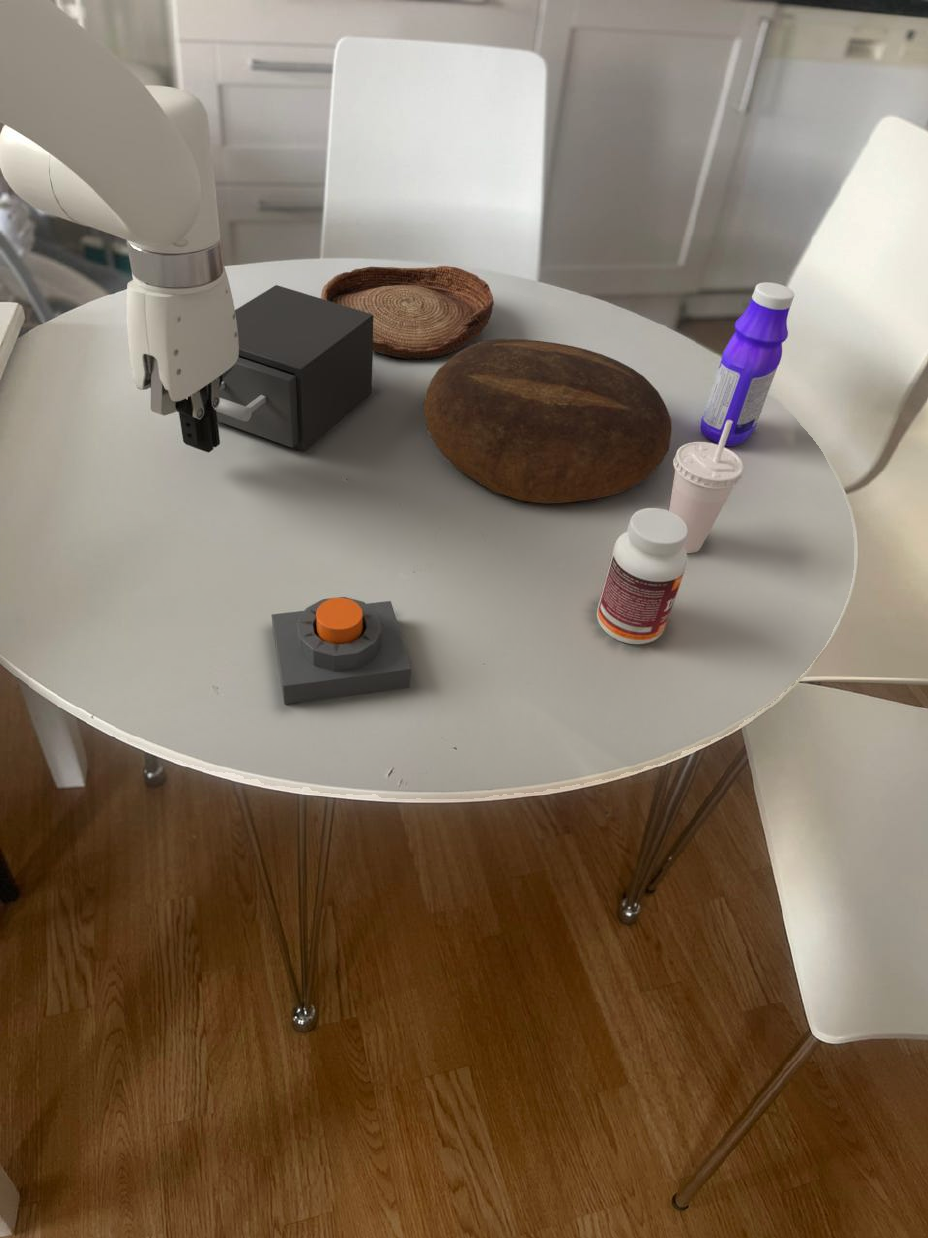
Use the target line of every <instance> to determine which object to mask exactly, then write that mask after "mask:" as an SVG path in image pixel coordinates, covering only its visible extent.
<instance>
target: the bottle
mask: <svg viewBox="0 0 928 1238" xmlns="http://www.w3.org/2000/svg"><path fill="white" fill-rule="evenodd" d="M794 297H795V292H794V291H793V290H792V289H791V288H790V287H788V286H785V285H784V284H780V283H776V282H767V281H765V282H759V283H758V284H756V286H755V288H754V290H753V293H752V295H751V299H750V302H749V304H748V306H747V308H746V310H745V311H744V313H743V314H741V315H740V317H738V318H737V320H736V321H735V323H734V330H735V332H734V333H733V335H732V336H731V338H730V339H729V341H728V342H727V344H726V346H725V348H724V350H723V353H722V355H721V361H720V363H719V366H718V368H717V373H716V375H715V379H714V382H713V385H712V388H711V391H710V393H709V397H708V400H707V403H706V406H705V409H704V412H703V415H702V416H701V420H700V433H701V434H702V436H704V437H705V438H707V439H708V440H710V441H712V442H713V443H715V444H717V445H719V442H720V439H721V436H722V433H723V430H724V427H725V424H726V421H727V420H731V421H732V422H733V423H732V426H731V429H730V432H729V435H728V437H727V440H726V443H725V446H724V447H735V446H737V445H740V444H742V443H744V442H745V441H747V439H749V438H750V437H751V436H752V434H753V433H754V431H755V429H756V427H757V425H758V421H759V419H760V416H761V413H762V412H763V411H762V410H763V408H764V405H765V401H766V399H767V397H768V394H769V391H770V389H771V386H772V383H773V380H774V378H775V375H776V373H777V370H778V367H779V365H780V363H781V360H782V356H783V343H784V342H785V341H786V340H787V339H788V337H789V331H788V316H789V312H790V309H791V307H792V303H793V300H794Z"/></svg>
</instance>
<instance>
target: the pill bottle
mask: <svg viewBox="0 0 928 1238" xmlns="http://www.w3.org/2000/svg"><path fill="white" fill-rule="evenodd" d="M687 533H688V528H687V525H686V524H685V522H684V521H683V520H682V519H681V518H680V517H679V516H677V515H676V514H674V513H672V512H670V511H669V510H667V509H663V508H658V507H647V508H641V509H639V510H637V511H636V512H634V513H633V514H632V516H631V517H630V521H629V523H628V526H627V531H624V532H622V534H621V535H619V537H618V538H617V540H616V541H615V543H614V546H613V549H612V553H611V557H610V560H609V561H610V562H609V564H608V568H607V572H606V575H605V579H604V583H603V586H602V589H601V594H600V597H599V601H598V604H597V610H596V618H597V621H598V624H599V626H600V627H601V629H602V630H603V631H604V632H605V633H606V634H607V635H608V636H610V637H611V638H613V639H614V640H617V641H619V642H622V643H625V644H630V645H644V644H649V643H652V642H654V641H656V640H657V639H658V638H660V637H661V636H662V634H663V633H664V631H665V628H666V626H667V624H668V621H669V618H670V614H671V613H672V612H671V611H672V608H673V606H674V603H675V600H676V597H677V595H678V592H679V589H680V586H681V583H682V580H683V578H684V574H685V571H686V570H687V569H686V568H687V566H688V553H686V550H685V548H684V547H683V546H684V545H685V541H686V537H687Z"/></svg>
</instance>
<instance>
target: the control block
mask: <svg viewBox="0 0 928 1238" xmlns="http://www.w3.org/2000/svg"><path fill="white" fill-rule="evenodd" d="M333 598H334V597H329V598H323V599H320V600H318V601H317V602H315V603H313V604H311V605H309V606H307V607H306V608H305V609H304V610H299V611H298V610H297V611H291V612H289V611H288V612H281V613H272V614H271V624H272V635H273V642H274V646H275V647H274V648H275V654H276V661H277V667H278V673H279V680H280V687H281V693H282V698H283V704H284V705H292V704H299V703H306V702H313V701H320V700H327V699H328V700H329V699H334V698H335V699H336V698H341V697H342V698H343V697H349V696H356V695H363V694H370V693H377V692H378V693H379V692H385V691H391V690H398V689H399V690H400V689H407V688H410V687H411V676H412V668H411V664H410V661H409V658H408V654H407V651H406V646H405V643H404V640H403V638H402V637H403V636H402V633H401V631H400V627H399V624H398V620H397V616H396V614H395V610H394V606H393V604H392V601H391V600H387V601H378V602H369V603H366V602H365V601H363V600H359V599H354V598H350V597H347V596H340V597H339V596H338V597H337V598H347V599H350V600H353V601H354V602H356V603H357V604H358V605H359V606H360V607H361V609H362V612H363V629H362V633H361V635H360V637H359V638H358V639H357V640H355V641H353V642H351V643H346V644H338V645H336V644H332V643H328V642H326V641H324V640H323V639H321V638H320V636H319V635H318V633H317V621H316V612H317V609H318V607H319V606H320V605H321V604H322V603H323V602H325V601H327V600H329V599H333Z"/></svg>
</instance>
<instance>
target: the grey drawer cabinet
mask: <svg viewBox="0 0 928 1238" xmlns="http://www.w3.org/2000/svg"><path fill="white" fill-rule="evenodd" d="M235 315H236V321H237V329H238V340H239V356H242V357H245V358H248V359H251V360H254V361H257V362H260V363H263V364H266V365H269V366H272V367H275V368H278V369H281V370H284V371H287V372H290V373H293V374H295V376H296V391H297V413H298V435H299V443H298V444H297V445H296V446H294V447H293V448H292V449H297V450H299V451H302V452H305V451H306V450H308V449H309V448H310V447H311V446H313V445H314V444H315V443H316V442H317V441H318V440H320V438H322V437H323V435H325V434H326V433H327V432H328V431H330V430H331V429H332V428H333V427H334V426H335V425H336V424H338V423H339V422H340V421H341V420H342V419H343V418H345V417H346V416H347V415H348V414H349V413H350V412H352V410H354V409H355V408H356V407H357V406H358V405H359V404H361V403H362V402H363V401H365V399H367V397H368V396H370V395H371V394H372V393H373V359H374V355H373V354H374V351H373V314H370V313H366V312H363V311H360V310H357V309H353V308H350V307H347V306H344V305H340V304H337V303H334V302H330V301H327V300H324V299H321V297H317V296H314V295H310V294H308V293H304V292H301V291H297V290H294V289H292V288H288V287H285V286H281V285H278V284H275V285H274V286H272V287H271V288H269V289H267V290H265V291H264V292H262V293H261V294H259V295H257V296H256V297H254V298H252V299H251V300H249V301H247V302H246V303H244V304H243V305H241V306H239V307H238V308H236V309H235Z"/></svg>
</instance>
